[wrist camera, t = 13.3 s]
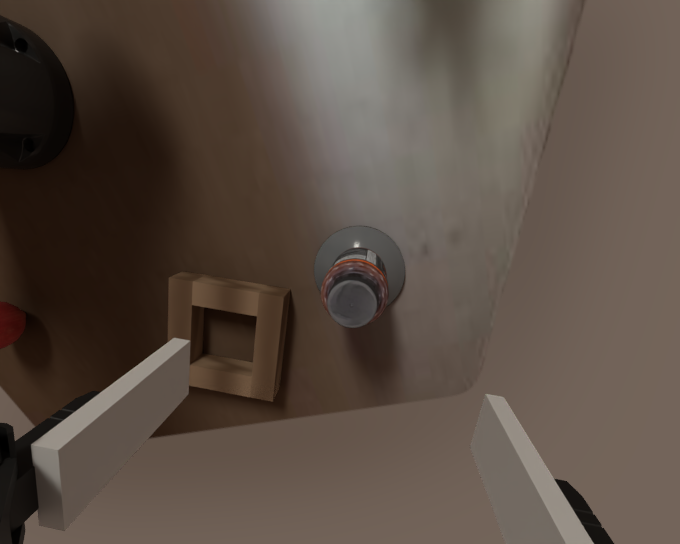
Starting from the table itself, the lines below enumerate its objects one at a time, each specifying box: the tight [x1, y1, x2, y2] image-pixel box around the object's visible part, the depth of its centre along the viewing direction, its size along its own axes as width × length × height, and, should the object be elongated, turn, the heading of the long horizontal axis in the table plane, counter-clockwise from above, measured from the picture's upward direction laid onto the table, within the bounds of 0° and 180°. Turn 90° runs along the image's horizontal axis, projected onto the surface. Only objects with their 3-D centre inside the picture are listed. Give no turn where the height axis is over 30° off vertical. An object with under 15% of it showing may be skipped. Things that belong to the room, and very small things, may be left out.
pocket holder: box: [168, 271, 291, 402], centre depth 40 cm, size 13×13×3 cm
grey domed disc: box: [314, 226, 405, 306], centre depth 38 cm, size 10×10×1 cm
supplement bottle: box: [321, 247, 389, 328], centre depth 32 cm, size 6×6×11 cm
